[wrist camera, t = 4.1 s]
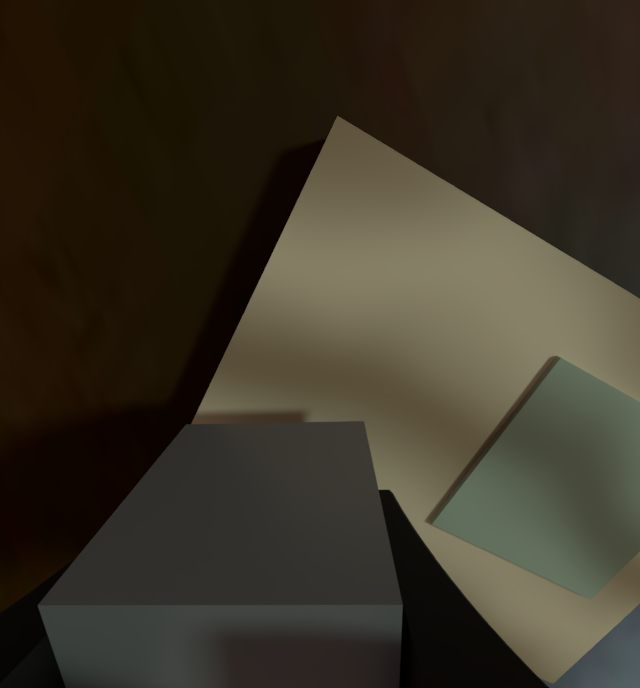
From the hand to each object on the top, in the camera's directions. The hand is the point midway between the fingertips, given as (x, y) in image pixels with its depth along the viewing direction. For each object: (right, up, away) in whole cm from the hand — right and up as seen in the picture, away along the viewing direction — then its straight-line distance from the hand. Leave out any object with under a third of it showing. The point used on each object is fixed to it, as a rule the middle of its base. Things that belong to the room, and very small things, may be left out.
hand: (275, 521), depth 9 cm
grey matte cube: (0, 0, +1) cm, 1 cm away
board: (+6, +1, +4) cm, 7 cm away
